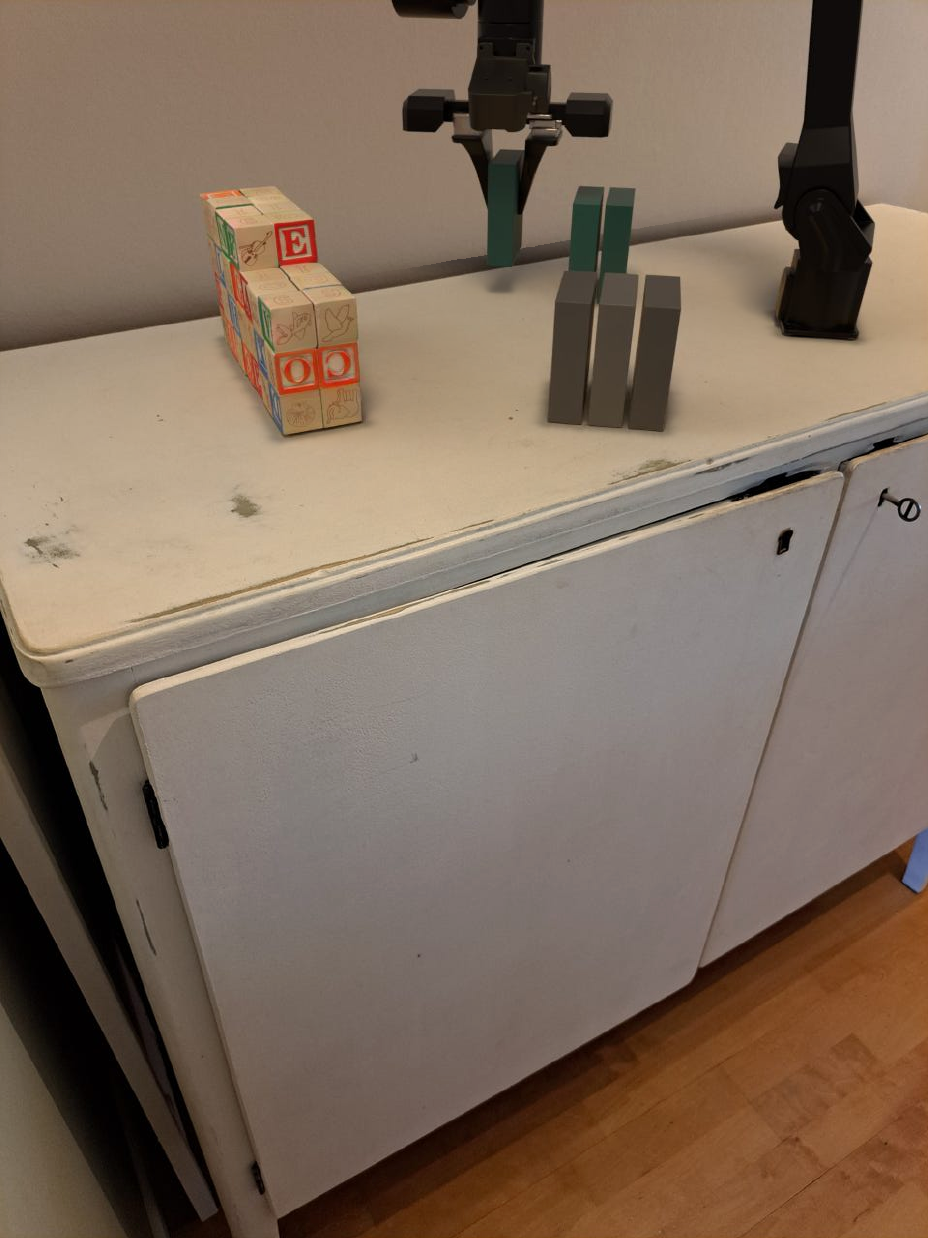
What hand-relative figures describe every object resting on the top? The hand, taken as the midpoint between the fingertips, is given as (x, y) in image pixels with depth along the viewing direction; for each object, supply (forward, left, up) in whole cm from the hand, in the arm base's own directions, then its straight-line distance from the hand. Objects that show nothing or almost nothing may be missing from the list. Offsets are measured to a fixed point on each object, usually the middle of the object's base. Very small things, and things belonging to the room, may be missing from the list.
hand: (505, 213), depth 88 cm
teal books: (-9, 0, -7) cm, 12 cm away
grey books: (-12, +27, -7) cm, 30 cm away
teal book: (0, 0, -4) cm, 4 cm away
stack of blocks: (+14, +26, -7) cm, 30 cm away
